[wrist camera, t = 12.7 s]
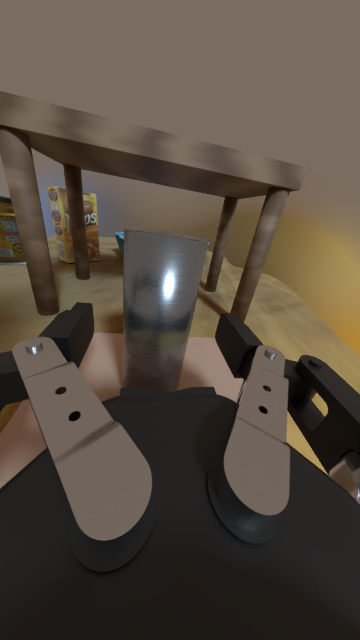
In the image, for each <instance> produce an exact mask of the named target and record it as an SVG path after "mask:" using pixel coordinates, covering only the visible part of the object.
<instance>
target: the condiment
mask: <svg viewBox="0 0 360 640" xmlns="http://www.w3.org/2000/svg"><path fill="white" fill-rule="evenodd" d="M21 262H22V263H21ZM0 264H5V265H19V264H24V265H26V260H25V256H24V252H23V248H22V243H21V239H20V235H19V231H18V227H17V222H16V218H15V214H14V210H13V206H12V201H11V198H8V197H2V196H0Z"/></svg>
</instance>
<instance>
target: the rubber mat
mask: <svg viewBox="0 0 360 640" xmlns="http://www.w3.org/2000/svg"><path fill="white" fill-rule="evenodd" d="M79 371H80V372H81V374H82V375H83V377H84V378H85V380H86V381H87V382H88V384H89V385H90V387H91V388H92V390H93V391H94V393H95V394H96V396H97V397H98V398H99V400H100V401H101V402H102V401H105V400H107V399H109V398H112V397H115V396H119V395H120V390H121V388H123V334H116V333H94V335H93V338H92V340H91V342H90V344H89V347H88V349H87V351H86V353H85V355H84V358H83V360H82V362H81V364H80V366H79ZM243 381H244V380H243V378H234V377H233V375H232V373H231V371H230V369H229V367H228V365H227V363H226V361H225V359H224V357H223V355H222V353H221V351H220V349H219V347H218V345H217V343H216V340H215V338H201V337H189V338H188V343H187V348H186V353H185V357H184V362H183V367H182V372H181V377H180V382H179V386H178V390H182V389H186V388H190V387H214V388H215V391H216V394H218V395H221V396H224V397H227V398H229V399H231V400H233V401H235V402H236V399H237V397H238V394H239V391H240V388H241V385H242V383H243ZM45 449H46V445H45V443H44V440H43V437H42V434H41V431H40V429H39V426H38V423H37V421H36V418H35V415H34V412H33V410H32V407H31V404H30V402H29V399H27V400H23V401H22V403H21V404H20V405H19V407H18V408H17V410H16V411H15V413H14V414H13V416H12V417H11V419H10V420H9V422H8V423H7V425H6V426H5V428H4V429H3V431H2V432H1V433H0V488H1V487H2V486H4V485H5V484H6V483H7V482H8V481H9V480H10V479H12V478H13V477H14V476H15V475H16V474H17V473H18V472H20V471H21V470H22V469H23V468H24V467H25V466H26V465H27V464H29V463H30V462H31V461H32V460H33V459H34V458H35V457H37V456H38V455H39V454H40V453H41V452H42V451H43V450H45Z"/></svg>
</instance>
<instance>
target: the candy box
mask: <svg viewBox="0 0 360 640" xmlns="http://www.w3.org/2000/svg"><path fill="white" fill-rule="evenodd" d="M48 192H49V198H50V204H51V210H52V217H53V223H54V229H55V235H56V242H57V248H58V254H59V259H60V260H62V261H64V262H67V263H73V262H75V260H74V252H73V243H72V235H71V226H70V217H69V209H68V200H67V192H66V188H63V187H57V186H48ZM83 202H84V214H85V226H86V238H87V250H88V261H100V253H99V237H98V221H97V204H96V195H95V194H91V193H86V192H83Z"/></svg>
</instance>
